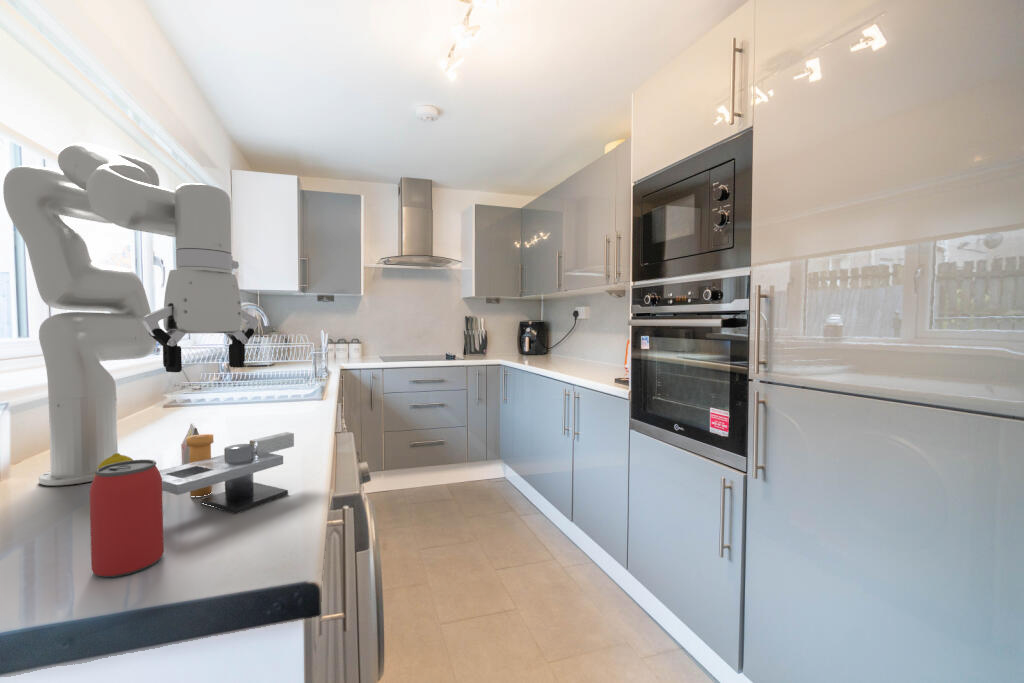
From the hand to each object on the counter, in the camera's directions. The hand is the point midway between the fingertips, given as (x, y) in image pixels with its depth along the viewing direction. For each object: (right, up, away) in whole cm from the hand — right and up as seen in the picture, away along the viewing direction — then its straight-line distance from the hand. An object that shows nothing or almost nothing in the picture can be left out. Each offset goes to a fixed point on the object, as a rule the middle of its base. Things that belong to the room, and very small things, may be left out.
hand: (206, 369), depth 74 cm
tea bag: (-11, -22, +13) cm, 28 cm away
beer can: (+4, -23, -20) cm, 30 cm away
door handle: (+5, -22, 0) cm, 22 cm away
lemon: (-15, -22, +1) cm, 27 cm away
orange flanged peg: (-4, -22, +4) cm, 22 cm away
